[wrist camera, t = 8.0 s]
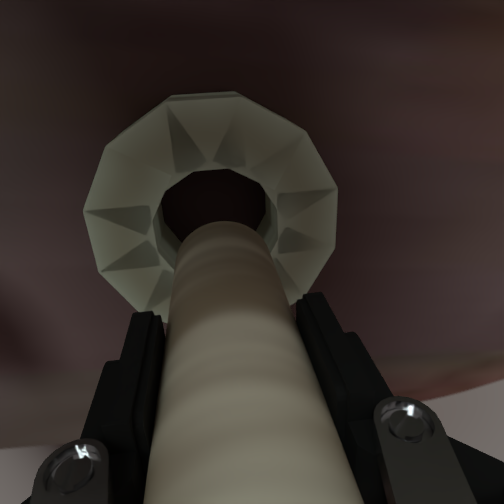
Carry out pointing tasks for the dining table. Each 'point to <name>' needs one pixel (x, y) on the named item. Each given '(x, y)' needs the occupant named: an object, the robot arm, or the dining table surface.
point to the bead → (199, 159)
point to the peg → (239, 387)
